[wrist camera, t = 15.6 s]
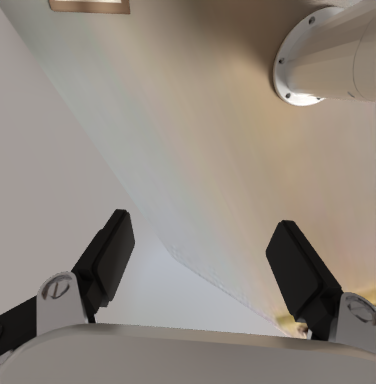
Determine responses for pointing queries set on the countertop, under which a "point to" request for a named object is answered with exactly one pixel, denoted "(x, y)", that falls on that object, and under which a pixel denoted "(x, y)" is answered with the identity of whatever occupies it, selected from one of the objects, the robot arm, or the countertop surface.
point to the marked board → (91, 6)
